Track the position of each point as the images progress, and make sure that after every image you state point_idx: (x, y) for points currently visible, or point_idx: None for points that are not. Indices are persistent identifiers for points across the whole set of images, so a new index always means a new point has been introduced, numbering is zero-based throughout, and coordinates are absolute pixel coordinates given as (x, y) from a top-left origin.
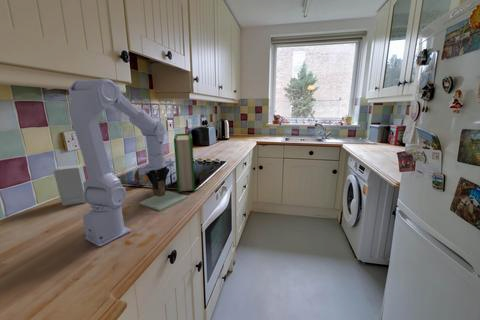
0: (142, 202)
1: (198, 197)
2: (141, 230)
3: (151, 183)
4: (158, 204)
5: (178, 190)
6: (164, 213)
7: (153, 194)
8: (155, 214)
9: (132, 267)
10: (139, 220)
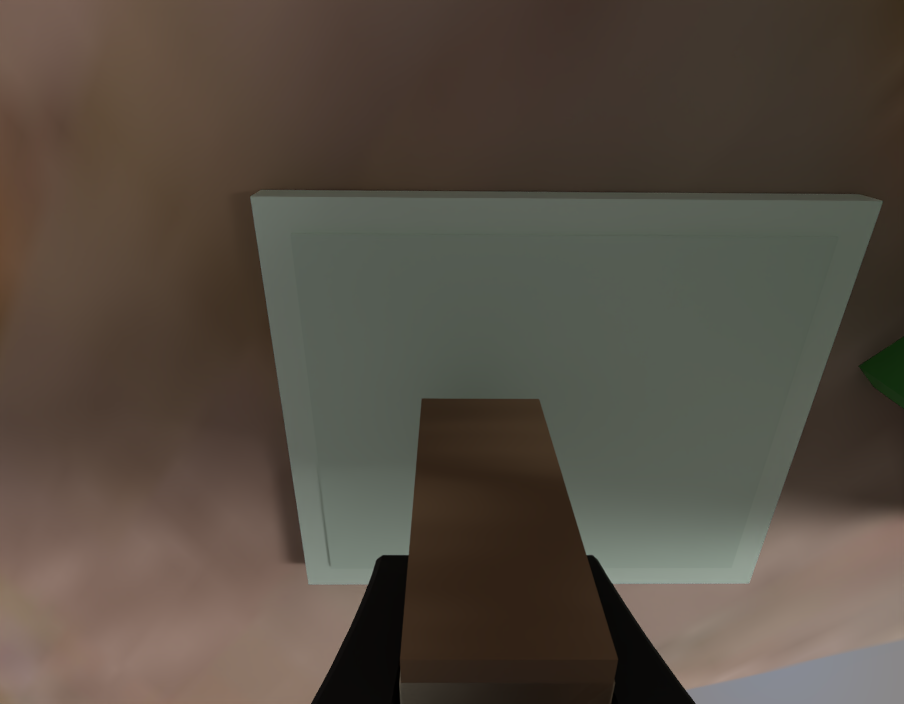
0: (273, 258)
1: (789, 631)
2: (7, 678)
3: (333, 665)
4: (368, 501)
5: (899, 400)
6: (306, 622)
7: (421, 411)
8: (235, 579)
9: None
10: (55, 557)
